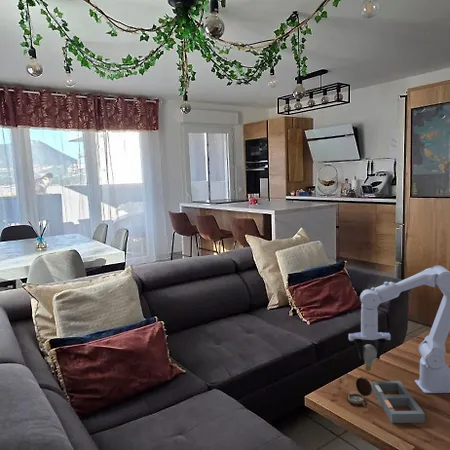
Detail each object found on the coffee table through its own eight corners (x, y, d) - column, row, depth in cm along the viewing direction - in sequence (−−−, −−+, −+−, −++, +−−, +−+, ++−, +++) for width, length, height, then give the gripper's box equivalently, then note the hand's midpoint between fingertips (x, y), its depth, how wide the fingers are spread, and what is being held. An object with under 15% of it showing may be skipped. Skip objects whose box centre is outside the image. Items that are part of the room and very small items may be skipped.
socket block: (399, 388, 138) (400, 380, 138) (424, 422, 120) (424, 412, 119) (371, 389, 139) (371, 380, 139) (391, 422, 120) (392, 413, 120)
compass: (342, 400, 133) (342, 380, 132) (358, 392, 137) (358, 373, 136) (361, 411, 127) (361, 391, 126) (377, 403, 131) (377, 383, 130)
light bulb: (376, 375, 139) (379, 349, 138) (360, 373, 140) (363, 346, 139) (374, 368, 144) (376, 342, 143) (358, 366, 146) (361, 340, 144)
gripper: (385, 318, 143) (385, 352, 145) (346, 319, 144) (346, 353, 146) (392, 325, 136) (392, 361, 138) (351, 326, 137) (351, 362, 139)
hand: (369, 358), depth 142 cm, fingers closed on light bulb, 5 cm apart
